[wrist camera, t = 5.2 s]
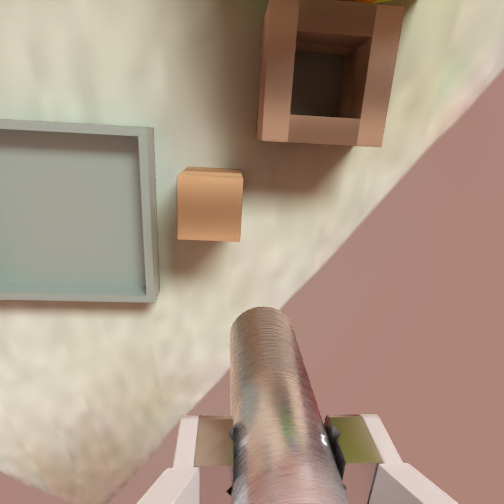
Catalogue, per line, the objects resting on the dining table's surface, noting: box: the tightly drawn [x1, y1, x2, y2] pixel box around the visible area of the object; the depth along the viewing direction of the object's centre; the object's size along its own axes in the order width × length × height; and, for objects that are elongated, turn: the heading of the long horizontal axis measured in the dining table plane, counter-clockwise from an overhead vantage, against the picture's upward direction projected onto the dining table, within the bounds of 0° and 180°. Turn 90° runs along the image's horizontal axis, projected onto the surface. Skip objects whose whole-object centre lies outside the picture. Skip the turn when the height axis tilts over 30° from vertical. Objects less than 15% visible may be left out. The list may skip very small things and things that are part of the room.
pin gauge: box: [230, 307, 349, 504], centre depth 10 cm, size 3×3×12 cm
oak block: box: [177, 167, 243, 242], centre depth 24 cm, size 4×4×6 cm
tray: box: [0, 119, 160, 303], centre depth 26 cm, size 13×13×2 cm
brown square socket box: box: [256, 0, 405, 147], centre depth 23 cm, size 8×8×5 cm
